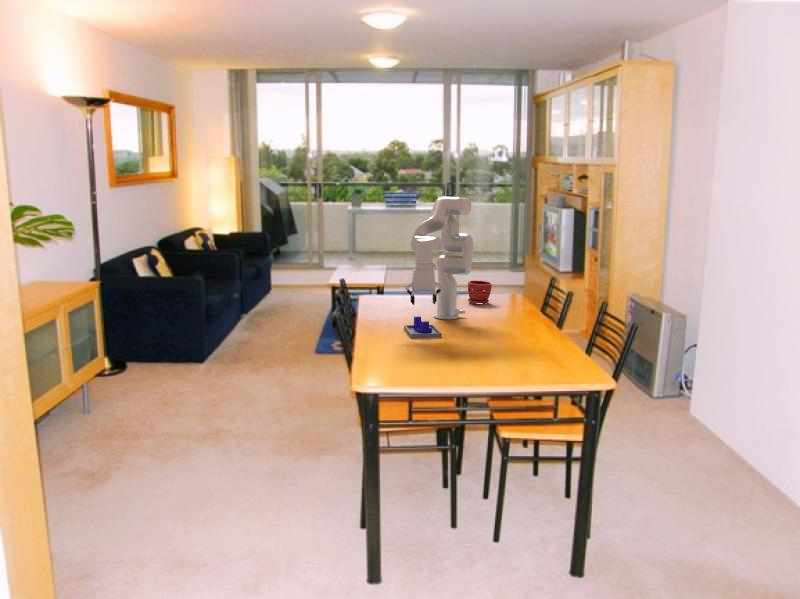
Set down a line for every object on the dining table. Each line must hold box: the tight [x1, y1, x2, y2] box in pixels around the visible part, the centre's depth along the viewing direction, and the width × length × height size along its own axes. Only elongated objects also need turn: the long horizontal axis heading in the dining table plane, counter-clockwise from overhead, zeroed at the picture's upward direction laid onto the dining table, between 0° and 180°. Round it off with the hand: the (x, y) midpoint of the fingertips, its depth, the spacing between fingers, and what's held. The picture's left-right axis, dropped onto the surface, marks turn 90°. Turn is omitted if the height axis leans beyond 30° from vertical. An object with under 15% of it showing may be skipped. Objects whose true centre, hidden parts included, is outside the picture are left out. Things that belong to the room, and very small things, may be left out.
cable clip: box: [413, 315, 432, 333], centre depth 326 cm, size 12×4×6 cm, turn 18°
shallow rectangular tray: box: [403, 324, 443, 339], centre depth 327 cm, size 14×18×2 cm
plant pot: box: [467, 280, 493, 304], centre depth 402 cm, size 13×13×12 cm
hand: (423, 303), depth 326 cm, fingers open, 9 cm apart
